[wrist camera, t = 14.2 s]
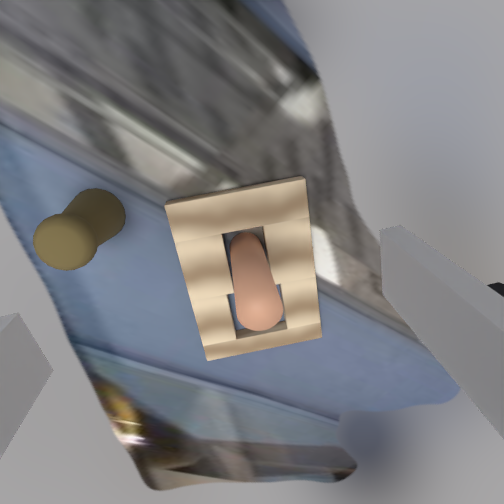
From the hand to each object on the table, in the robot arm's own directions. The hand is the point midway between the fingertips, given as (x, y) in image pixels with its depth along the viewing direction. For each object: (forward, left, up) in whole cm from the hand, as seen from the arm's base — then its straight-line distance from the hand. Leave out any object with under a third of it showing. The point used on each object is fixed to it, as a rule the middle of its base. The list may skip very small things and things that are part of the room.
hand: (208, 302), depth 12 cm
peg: (+10, +2, -29) cm, 31 cm away
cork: (+2, -14, -29) cm, 32 cm away
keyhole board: (+13, +2, -29) cm, 32 cm away
